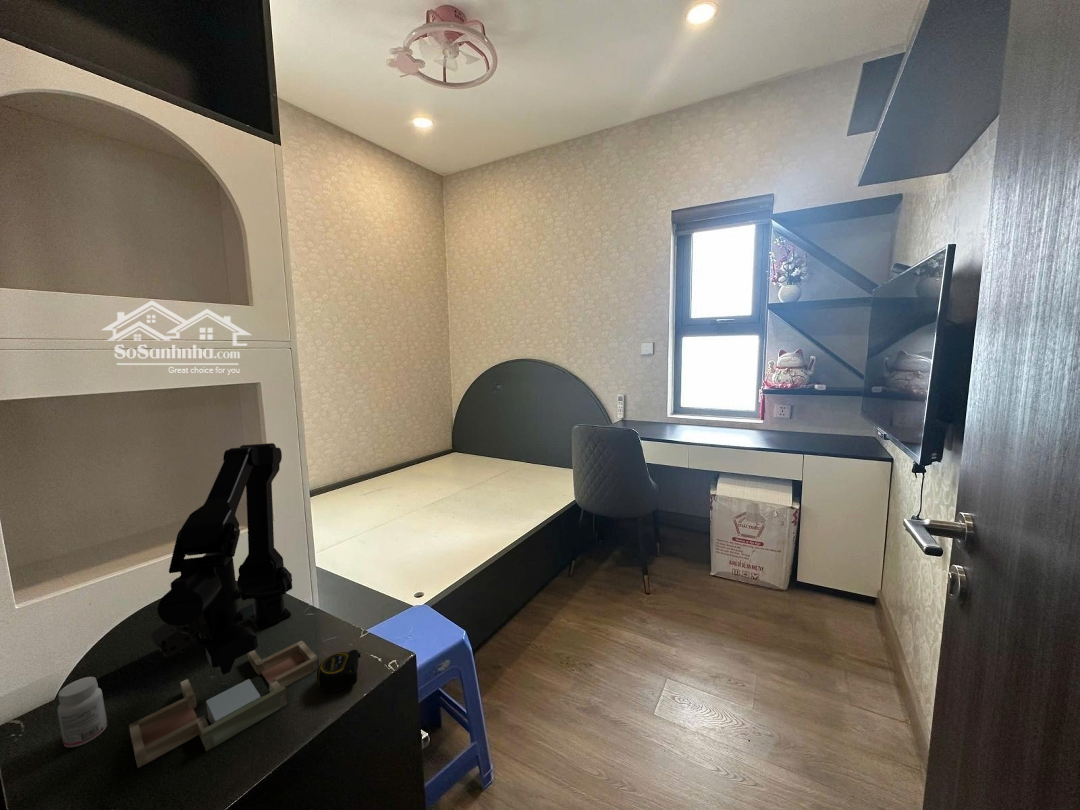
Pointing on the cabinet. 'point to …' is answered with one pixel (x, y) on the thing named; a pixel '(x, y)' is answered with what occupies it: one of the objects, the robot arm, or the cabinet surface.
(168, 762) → the cabinet surface
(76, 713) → the pill bottle
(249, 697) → the block
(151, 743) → the box
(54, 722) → the cabinet surface
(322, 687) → the tape measure
